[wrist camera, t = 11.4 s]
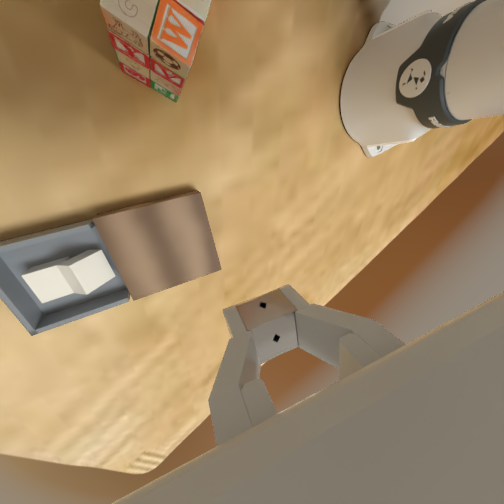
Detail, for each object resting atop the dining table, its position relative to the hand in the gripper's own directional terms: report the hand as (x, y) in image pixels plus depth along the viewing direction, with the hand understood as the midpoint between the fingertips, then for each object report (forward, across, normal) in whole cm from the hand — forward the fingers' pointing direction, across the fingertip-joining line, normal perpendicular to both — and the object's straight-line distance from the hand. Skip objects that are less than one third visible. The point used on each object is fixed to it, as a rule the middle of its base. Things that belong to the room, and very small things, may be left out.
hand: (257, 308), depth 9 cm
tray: (+26, +18, +4) cm, 31 cm away
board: (+26, +5, +4) cm, 27 cm away
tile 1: (+22, +19, +4) cm, 30 cm away
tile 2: (+24, +16, +4) cm, 29 cm away
